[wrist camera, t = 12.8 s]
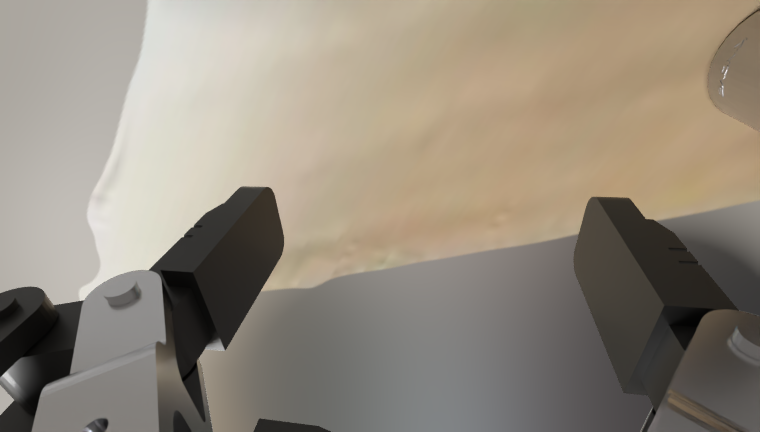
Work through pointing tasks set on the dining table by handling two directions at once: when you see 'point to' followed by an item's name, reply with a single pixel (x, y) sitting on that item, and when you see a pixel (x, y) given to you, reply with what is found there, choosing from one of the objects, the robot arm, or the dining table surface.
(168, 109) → the dining table surface
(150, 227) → the dining table surface
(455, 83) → the dining table surface
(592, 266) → the robot arm
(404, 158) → the dining table surface
